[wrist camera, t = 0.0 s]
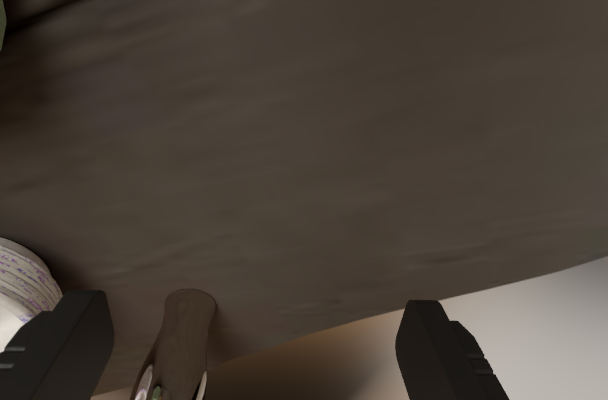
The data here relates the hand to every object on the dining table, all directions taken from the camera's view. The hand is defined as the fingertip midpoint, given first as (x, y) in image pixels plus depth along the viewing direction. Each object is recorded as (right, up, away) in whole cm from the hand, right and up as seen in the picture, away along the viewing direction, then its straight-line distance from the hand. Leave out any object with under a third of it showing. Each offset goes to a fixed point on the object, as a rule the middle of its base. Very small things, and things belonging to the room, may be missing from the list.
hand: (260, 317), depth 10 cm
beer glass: (-13, -10, +35) cm, 38 cm away
